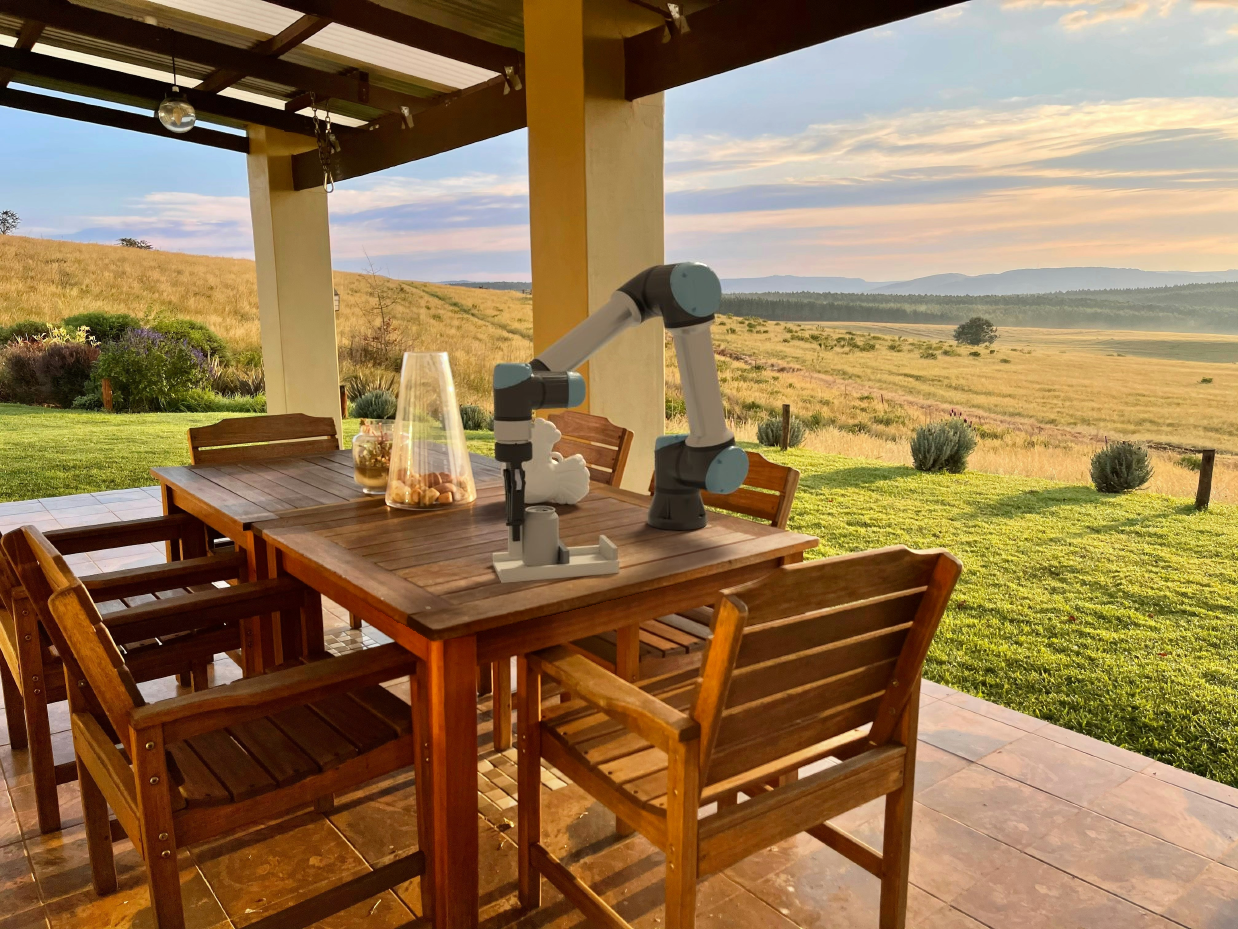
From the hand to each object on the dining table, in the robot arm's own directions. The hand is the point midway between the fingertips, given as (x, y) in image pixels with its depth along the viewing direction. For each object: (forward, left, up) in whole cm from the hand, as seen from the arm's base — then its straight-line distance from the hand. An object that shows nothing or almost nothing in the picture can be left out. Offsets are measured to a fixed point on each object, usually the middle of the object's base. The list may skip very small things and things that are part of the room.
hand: (515, 555), depth 165 cm
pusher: (-10, 0, -2) cm, 10 cm away
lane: (-8, 0, -4) cm, 9 cm away
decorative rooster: (-18, -62, -4) cm, 65 cm away
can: (-5, 0, -3) cm, 6 cm away
